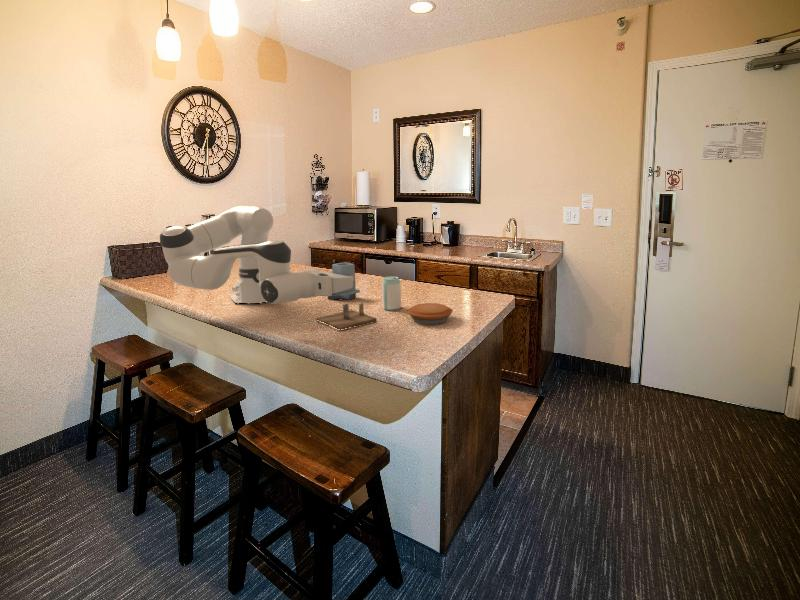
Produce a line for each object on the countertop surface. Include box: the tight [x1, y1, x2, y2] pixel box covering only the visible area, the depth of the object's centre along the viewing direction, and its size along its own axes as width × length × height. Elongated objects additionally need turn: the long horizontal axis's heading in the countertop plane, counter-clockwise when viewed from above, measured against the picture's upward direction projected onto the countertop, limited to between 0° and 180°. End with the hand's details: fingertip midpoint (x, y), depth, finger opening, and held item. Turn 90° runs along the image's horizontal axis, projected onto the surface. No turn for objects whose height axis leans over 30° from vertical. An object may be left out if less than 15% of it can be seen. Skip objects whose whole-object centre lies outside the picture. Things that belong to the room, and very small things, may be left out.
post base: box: [316, 302, 378, 330], centre depth 156 cm, size 15×15×6 cm
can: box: [381, 275, 402, 311], centre depth 171 cm, size 7×7×12 cm
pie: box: [407, 302, 453, 326], centre depth 156 cm, size 15×16×5 cm
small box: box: [327, 293, 357, 301], centre depth 188 cm, size 11×6×10 cm, turn 73°
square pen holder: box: [331, 261, 361, 296], centre depth 153 cm, size 7×7×10 cm
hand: (346, 276), depth 153 cm, fingers closed on square pen holder, 6 cm apart
